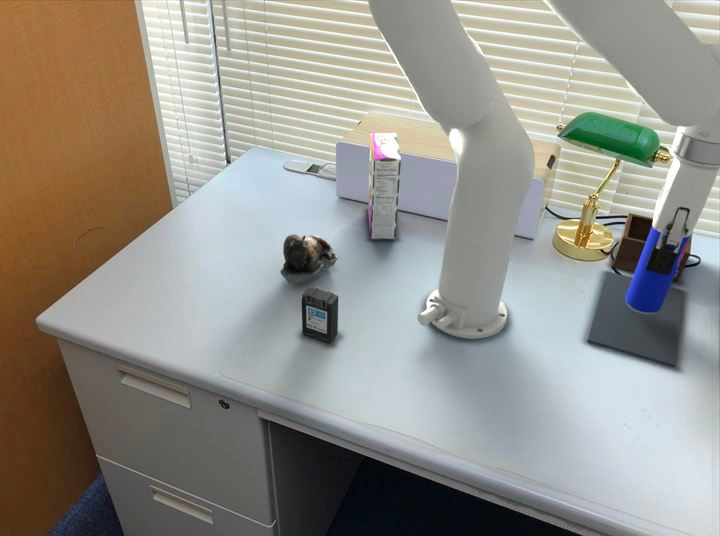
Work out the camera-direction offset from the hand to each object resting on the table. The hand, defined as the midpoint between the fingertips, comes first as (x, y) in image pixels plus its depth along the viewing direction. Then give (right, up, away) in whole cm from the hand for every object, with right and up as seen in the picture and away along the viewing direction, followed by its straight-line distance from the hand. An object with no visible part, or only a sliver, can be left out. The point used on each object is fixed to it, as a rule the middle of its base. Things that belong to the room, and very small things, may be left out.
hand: (659, 260), depth 92 cm
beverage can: (0, -7, +5) cm, 9 cm away
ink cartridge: (-50, -11, +3) cm, 51 cm away
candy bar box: (-38, +8, +29) cm, 49 cm away
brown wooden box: (+8, +1, +19) cm, 20 cm away
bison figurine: (-52, -2, +15) cm, 54 cm away
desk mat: (0, -8, +7) cm, 11 cm away
